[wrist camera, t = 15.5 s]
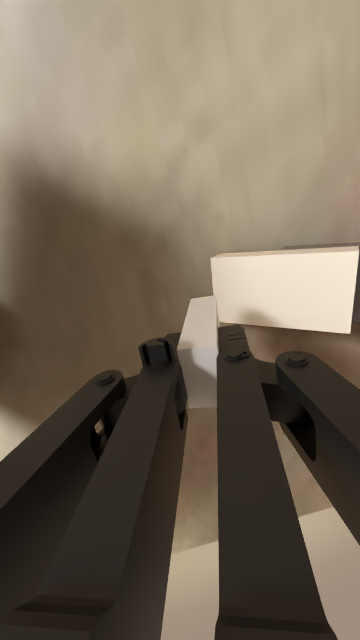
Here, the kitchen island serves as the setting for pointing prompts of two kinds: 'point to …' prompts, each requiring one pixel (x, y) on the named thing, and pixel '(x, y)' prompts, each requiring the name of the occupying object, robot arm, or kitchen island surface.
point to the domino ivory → (287, 288)
